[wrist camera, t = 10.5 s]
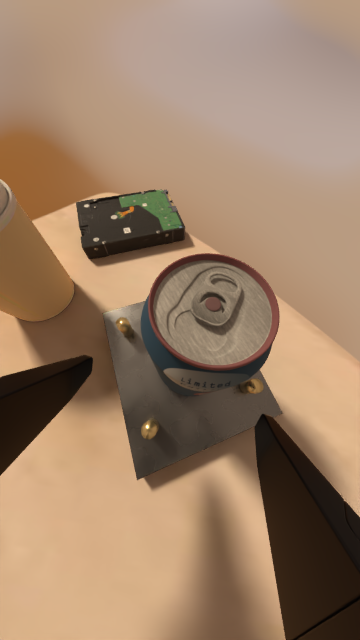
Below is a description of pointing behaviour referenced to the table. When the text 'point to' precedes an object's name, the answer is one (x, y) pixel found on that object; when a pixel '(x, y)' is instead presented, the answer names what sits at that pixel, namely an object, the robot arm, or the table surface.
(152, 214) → the disk drive
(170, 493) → the table surface
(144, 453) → the chassis plate
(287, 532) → the robot arm
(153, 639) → the table surface
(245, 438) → the table surface
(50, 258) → the coffee cup
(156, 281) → the soda can
